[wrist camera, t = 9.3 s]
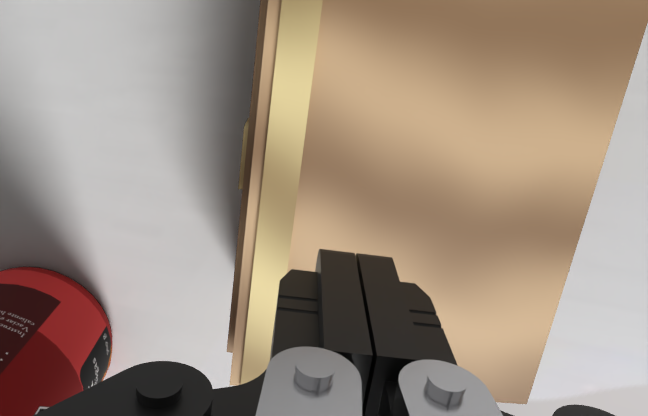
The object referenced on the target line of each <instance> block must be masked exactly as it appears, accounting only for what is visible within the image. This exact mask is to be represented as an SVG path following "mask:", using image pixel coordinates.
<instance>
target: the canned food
mask: <svg viewBox="0 0 648 416" xmlns="http://www.w3.org/2000/svg"><path fill="white" fill-rule="evenodd" d="M111 354H112V333H111V328H110V324H109V321H108V318H107V316H106V314H105V312H104V311H103V309H102V307H101V305H100V304H99V303H98V302H97V300H96V299H95V298H94V297H93V295H92V294H90V293H89V292H88V291H87V290H86V289H85V288H84V287H82V286H81V285H80V284H78V283H77V282H75V281H73V280H72V279H70V278H69V277H67V276H64V275H62V274H59V273H57V272H55V271H51V270H47V269H43V268H36V267H18V268H10V269H7V270H3V271H0V416H33V415H35V414H37V413H39V412H41V411H43V410H45V409H47V408H49V407H51V406H53V405H55V404H57V403H59V402H61V401H63V400H65V399H67V398H69V397H71V396H73V395H75V394H77V393H79V392H81V391H84V390H86V389H88V388H90V387H92V386H94V385H96V384H98V383H100V382H102V381H103V379H104V377H105V375H106V373H107V370H108V368H109V365H110V361H111Z"/></svg>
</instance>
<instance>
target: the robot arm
mask: <svg viewBox="0 0 648 416" xmlns="http://www.w3.org/2000/svg"><path fill="white" fill-rule="evenodd" d="M33 416H513V415H510V414H508V413H505V412H503V411H501V410H500V409H499V407H498V406H497V404H496V402H495V400H494V398H493V397H492V395H491V393H490V391H489V390H488V388H487V387H486V385H485V384H484V383H483V382H482V381H481V380H480V379H479V378H478V377H476V376H475V375H474V374H472V373H471V372H469V371H467V370H465V369H464V368H462V367H459V366H458V365H457V363H456V360H455V358H454V355H453V353H452V350H451V348H450V345H449V343H448V340H447V338H446V335H445V333H444V330H443V328H441V323H440V320H439V318H438V316H437V315H436V310H435V308H434V305H433V303H432V300H431V298H430V297H429V296H428V295H427V294H426V293H425V292H424V291H423V290H422V289H421V288H420V287H419V286H418V285H416V284H415V283H408V282H400V280H399V277H398V274H397V270H396V267H395V264H394V261H393V258H392V257H385V256H377V255H369V254H360V253H356V255H355V253H351V252H343V251H334V250H326V249H319V251H318V256H317V262H316V268H315V272H312V271H304V270H295V269H291V270H290V271H289V272H288V273H287V274H286V275H285V276H284V277H283V278H282V279H281V280H280V283H279V290H278V298H277V306H276V314H275V321H274V329H273V337H272V344H271V354H270V362H269V364H268V366H267V369H266V370H265V371H264V372H263V373H262V374H261V375H260V376H258V377H257V378H255V379H253V380H251V381H249V382H247V383H244V384H241V385H237V386H232V387H226V388H219V389H212V385H211V383H210V381H209V380H208V379H207V377H206V376H205V375H204V374H203V373H201V372H200V371H199V370H197V369H195V368H193V367H191V366H188V365H186V364H182V363H178V362H170V361H156V362H148V363H143V364H139V365H136V366H133V367H131V368H128V369H126V370H124V371H122V372H120V373H118V374H116V375H114V376H112V377H110V378H108V379H106V380H104V381H102V382H100V383H98V384H96V385H94V386H92V387H90V388H88V389H86V390H84V391H81V392H79V393H77V394H75V395H73V396H71V397H69V398H67V399H65V400H63V401H61V402H59V403H57V404H55V405H53V406H51V407H49V408H47V409H45V410H43V411H41V412H39V413H37V414H35V415H33ZM553 416H615V415H613V414H610V413H608V412H606V411H603V410H600V409H597V408H593V407H589V406H584V405H567V406H563V407H561V408H559V409H557V410H556V411H555V412H554V414H553Z"/></svg>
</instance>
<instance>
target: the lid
mask: <svg viewBox="0 0 648 416" xmlns="http://www.w3.org/2000/svg"><path fill="white" fill-rule="evenodd" d="M647 23H648V0H268V8H267V18H266V28H265V38H264V48H263V58H262V68H261V78H260V88H259V98H258V108H257V118H256V128H255V138H254V148H253V158H252V168H251V178H250V188H249V197H248V207H247V217H246V227H245V237H244V247H243V257H242V267H241V277H240V287H239V297H238V307H237V317H236V327H235V337H234V347H233V357H232V367H231V377H230V385H236V386H237V385H241V384H244V383H247V382H249V381H251V380H253V379H255V378H257V377H258V376H260V375H261V374H262V373H263V372H264V371H265V370H266V369H267V366H268V364H269V362H270V354H271V344H272V337H273V329H274V321H275V314H276V306H277V298H278V290H279V283H280V280H281V279H282V278H283V277H284V276H285V275H286V274H287V273H288V272H289V271H290V270H291V269H295V270H304V271H312V272H315V268H316V262H317V256H318V251H319V249H326V250H334V251H343V252H351V253H355V255H356V253H360V254H369V255H377V256H385V257H392V258H393V261H394V264H395V267H396V270H397V274H398V277H399V280H400V282H408V283H415V284H416V285H418V286H419V287H420V288H421V289H422V290H423V291H424V292H425V293H426V294H427V295H428V296H429V297H430V298H431V300H432V303H433V305H434V308H435V310H436V315H437V316H438V318H439V320H440V323H441V328H443V330H444V333H445V335H446V338H447V340H448V343H449V345H450V348H451V350H452V353H453V355H454V358H455V360H456V363H457V365H458V366H459V367H462V368H464V369H465V370H467V371H469V372H471V373H472V374H474V375H475V376H476V377H478V378H479V379H480V380H481V381H482V382H483V383H484V384H485V385H486V387H487V388H488V390H489V391H490V393H491V395H492V397H493V398H494V400H495V402H501V403H516V404H527V401H528V398H529V395H530V392H531V389H532V386H533V383H534V379H535V376H536V373H537V370H538V367H539V364H540V360H541V357H542V354H543V351H544V348H545V345H546V341H547V338H548V335H549V332H550V329H551V326H552V323H553V319H554V316H555V313H556V310H557V307H558V304H559V300H560V297H561V294H562V291H563V288H564V285H565V281H566V278H567V275H568V272H569V269H570V266H571V263H572V259H573V256H574V253H575V250H576V247H577V244H578V240H579V237H580V234H581V231H582V228H583V225H584V221H585V218H586V215H587V212H588V209H589V206H590V203H591V199H592V196H593V193H594V190H595V187H596V184H597V180H598V177H599V174H600V171H601V168H602V165H603V162H604V158H605V155H606V152H607V149H608V146H609V143H610V139H611V136H612V133H613V130H614V127H615V124H616V120H617V117H618V114H619V111H620V108H621V105H622V102H623V98H624V95H625V92H626V89H627V86H628V83H629V79H630V76H631V73H632V70H633V67H634V64H635V60H636V57H637V54H638V51H639V48H640V45H641V42H642V38H643V35H644V32H645V29H646V26H647Z"/></svg>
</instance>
